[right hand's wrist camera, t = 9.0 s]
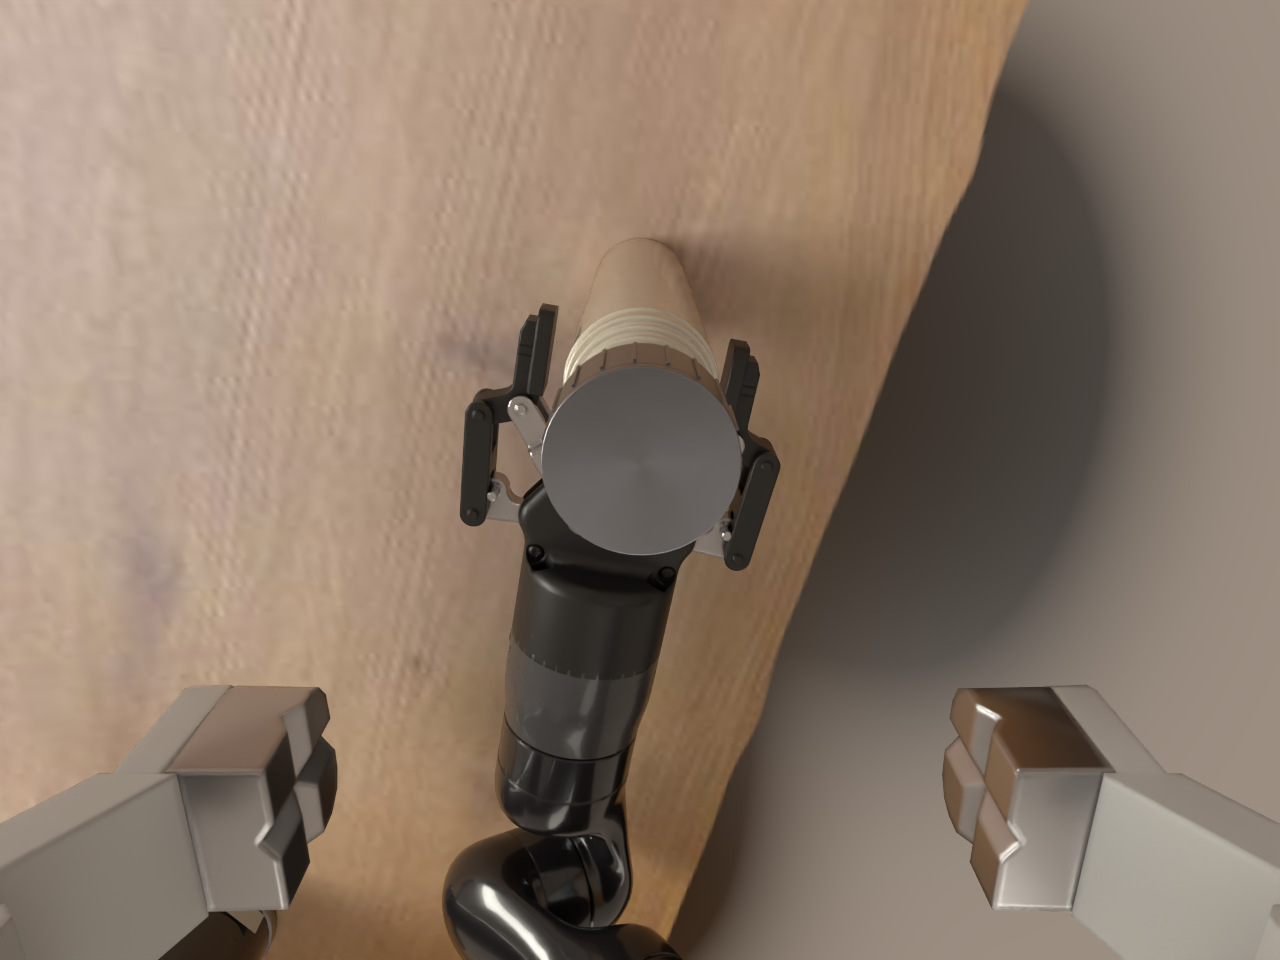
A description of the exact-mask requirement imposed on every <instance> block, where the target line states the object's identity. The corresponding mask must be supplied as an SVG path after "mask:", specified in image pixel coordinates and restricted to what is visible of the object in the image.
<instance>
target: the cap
mask: <svg viewBox="0 0 1280 960" xmlns="http://www.w3.org/2000/svg"><path fill="white" fill-rule="evenodd" d="M551 412H552V414H551V416H549V418H548V421H547V424H546V427H545V430H544V433H543V436H542V439H541V442H542V443H543V445H542V451H541V470H542V477H543V482H544V485H545V489H546V492H547V494H548V496H549V499H550V501H551V503H552V505H553V506H554V508H555V510H556V511H557V513H558V514H559V515H560V517H561V518H562V519H563V520H564V522H565V523H566V524H567V525H568V526H569V527H570V528H571V529H572V530H573V531H575V532H576V533H577V534H579V535H580V536H581V537H583V538H584V539H586V540H588V541H589V542H591V543H593V544H595V545H597V546H599V547H602V548H604V549H607V550H610V551H613V552H617V553H622V554H628V555H655V554H661V553H666V552H670V551H673V550H676V549H679V548H681V547H683V546H686V545H688V544H690V543H692V542H693V541H695V540H697V539H698V538H700V537H702V536H703V535H704V534H705V533H707V532H708V531H709V530H710V529H712V527H713V526H714V525H715V524H716V523H717V522H718V521H719V520H720V519H721V518H722V516H723V515H724V514H725V512H726V511H727V510H728V508H729V506H730V504H731V502H732V500H733V499H734V496H735V493H736V491H737V488H738V485H739V481H740V476H741V467H742V453H741V446H740V440H739V436H738V433H737V431H738V430H739V427H738V424H737V421H736V419H735V416H734V413H733V410H732V407H731V405H728V404H727V401H726V398H725V396H724V394H723V392H722V389H721V386H720V383H719V380H718V379H717V378H716V379H714V377H713V376H712V375H711V374H710V373H709V372H708V371H707V370H706V369H705V368H704V367H703V366H702V365H701V364H700V363H698V362H697V359H696V358H695V357H694V358H691V357H690V356H688V355H686V354H684V353H682V352H680V351H678V350H676V349H673V348H670V347H668V345H666V344H665V346H663V345H657V344H650V343H637V342H633V344H625V345H621V346H616V347H613V348H610V349H607V350H606V348H605V349H603V350H602V352H600V353H598V354H597V355H595V356H593V357H591V358H590V359H588V360H587V361H586V362H584V363H583V364H582V365H581V366H580V365H578V366H576V370H575V371H574V372H573V374H572V375H571V376H570V377H569V378H568V379H567V381H566V382H565V384H564V386H563V387H562V389H560V388H559V389H558V392H557V395H556V397H555V400H554V403H553V406H552V409H551Z"/></svg>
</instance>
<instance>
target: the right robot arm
mask: <svg viewBox="0 0 1280 960" xmlns="http://www.w3.org/2000/svg"><path fill="white" fill-rule="evenodd" d="M329 720H330V714H329V709H328V704H327V698H326V694H325V693H324V692H323V691H322V690H321V689H320V688H319V687H279V686H235V687H234V686H231V685H205V686H192V687H189V688H186V689H184V690H183V691H182V692H181V693H180V694H179V696H178V697H177V698H176V699H175V700H174V702H173V703H172V704H171V705H170V706H169V707H168V709H167V710H166V711H165V712H164V713H163V715H162V716H161V717H160V718H159V719H158V720H157V722H156V723H155V724H154V725H153V726H152V728H151V729H150V730H149V731H148V732H147V733H146V735H145V736H144V737H143V738H142V739H141V741H140V742H139V743H138V744H137V745H136V746H135V748H134V749H133V750H132V751H131V752H130V754H129V755H128V756H127V757H126V758H125V759H124V761H123V762H122V763H121V764H120V765H119V767H118V768H117V769H116V770H115V771H114V772H113V773H99V774H97V775H95V776H93V777H91V778H89V779H87V780H85V781H83V782H81V783H79V784H77V785H75V786H73V787H71V788H69V789H67V790H65V791H63V792H61V793H59V794H57V795H55V796H54V797H52V798H50V799H48V800H46V801H44V802H42V803H40V804H38V805H36V806H34V807H32V808H30V809H28V810H26V811H24V812H22V813H20V814H18V815H16V816H14V817H12V818H10V819H8V820H6V821H4V822H2V823H1V824H0V960H158V959H159V958H160V957H162V956H163V955H164V954H165V953H166V952H167V951H169V950H170V949H171V948H172V947H173V946H174V945H175V944H177V943H178V942H179V941H180V940H181V939H182V938H184V937H185V936H186V935H187V934H188V933H189V932H191V931H192V930H193V929H194V928H195V927H196V926H198V925H199V924H200V923H201V922H202V921H203V920H205V919H206V918H207V917H208V915H209V914H208V912H217V911H252V910H286V909H288V908H289V906H290V904H291V902H292V900H293V897H294V895H295V893H296V891H297V889H298V887H299V885H300V883H301V880H302V878H303V876H304V874H305V872H306V870H307V868H308V865H309V863H310V859H309V853H308V846H307V844H308V843H310V842H311V841H312V840H314V839H315V838H316V837H318V836H319V835H321V834H322V833H323V832H324V830H325V828H326V826H327V824H328V821H329V819H330V817H331V814H332V811H333V806H334V801H335V796H336V791H337V761H336V754H335V750H334V749H333V747H332V746H331V745H330V744H329V743H328V742H327V741H326V740H325V739H324V738H323V737H322V736H321V735H322V733H323V731H324V729H325V727H326V725H327V724H328V722H329ZM950 720H951V722H952V723H953V725H954V727H955V729H956V731H957V733H958V735H959V736H958V737H957V738H956V739H955V740H954V741H953V742H952V743H951V744H950V745H949V746H948V747H947V749H946V750H945V755H944V763H943V772H942V776H943V789H944V799H945V803H946V806H947V810H948V814H949V817H950V819H951V821H952V824H953V826H954V828H955V831H956V832H957V833H958V834H959V835H961V836H962V837H964V838H965V839H966V840H968V841H969V842H970V843H972V844H973V847H972V853H971V859H970V863H971V865H972V868H973V870H974V872H975V874H976V876H977V878H978V880H979V882H980V884H981V887H982V889H983V891H984V893H985V895H986V897H987V899H988V902H989V904H990V906H991V908H992V909H993V910H1028V911H1063V912H1072V914H1071V916H1072V917H1074V918H1075V919H1076V920H1077V921H1078V922H1079V923H1081V924H1082V925H1083V926H1084V927H1085V928H1086V929H1087V930H1089V931H1090V932H1091V933H1092V934H1093V935H1094V936H1096V937H1097V938H1098V939H1099V940H1100V941H1101V942H1103V943H1104V944H1105V945H1106V946H1107V947H1108V948H1110V949H1111V950H1112V951H1113V952H1114V953H1115V954H1117V955H1118V956H1119V957H1120V958H1121V959H1122V960H1280V824H1279V823H1277V822H1275V821H1273V820H1271V819H1269V818H1267V817H1265V816H1264V815H1262V814H1260V813H1258V812H1256V811H1254V810H1252V809H1250V808H1248V807H1246V806H1244V805H1242V804H1240V803H1238V802H1236V801H1234V800H1232V799H1230V798H1228V797H1226V796H1224V795H1222V794H1220V793H1218V792H1217V791H1215V790H1213V789H1211V788H1209V787H1207V786H1205V785H1203V784H1201V783H1199V782H1197V781H1195V780H1193V779H1191V778H1189V777H1187V776H1185V775H1183V774H1181V773H1166V771H1165V770H1164V769H1163V768H1162V767H1161V765H1160V764H1159V763H1158V762H1157V761H1156V760H1155V758H1154V757H1153V756H1152V755H1151V754H1150V752H1149V751H1148V750H1147V749H1146V748H1145V747H1144V745H1143V744H1142V743H1141V742H1140V741H1139V739H1138V738H1137V737H1136V736H1135V735H1134V734H1133V732H1132V731H1131V730H1130V729H1129V728H1128V727H1127V725H1126V724H1125V723H1124V722H1123V721H1122V719H1121V718H1120V717H1119V716H1118V715H1117V714H1116V712H1115V711H1114V710H1113V709H1112V708H1111V706H1110V705H1109V704H1108V703H1107V702H1106V701H1105V699H1104V698H1103V697H1102V696H1101V695H1100V693H1099V692H1098V691H1097V690H1096V689H1094V688H1092V687H1090V686H1088V685H1066V686H1044V687H1018V688H962V689H957V692H956V694H955V696H954V698H953V702H952V708H951V714H950Z"/></svg>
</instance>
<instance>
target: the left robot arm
mask: <svg viewBox="0 0 1280 960" xmlns="http://www.w3.org/2000/svg"><path fill="white" fill-rule="evenodd" d="M558 307H559V306H555V305H550V304H544V303H543V304H542V306H541V308H540V310H539V315H538V316H536V315H531V314H530V315H529V317H528V319H527V320H526V322H525V324H524V325H523V327H522V329H521V330H520V336H519V344H518V351H517V358H516V365H515V373H514V380H513V384H512V385H511V386H509V387H507V388H503V389H497V390H492V389H482V390H480V391H479V392H478V393H477V394H476V395H475V397H474V399H473V402H472V403H471V404H470V405H469V406H468V408H467V409H466V412H465V427H464V446H463V465H462V483H461V502H460V517H461V519H462V521H463V522H464V523H465V524H467V525H469V526H479V525H481V524H482V523H483V522H484V521H485V519H493V520H502V521H511V522H519V524H520V526H521V528H522V530H523V533H524V538H525V545H524V552H523V559H522V565H521V572H520V579H519V585H518V592H517V599H516V605H515V612H514V619H513V625H512V629H511V632H510V645H509V651H508V658H507V664H506V676H505V687H506V701H505V712H504V719H503V725H502V732H501V738H500V745H499V750H498V755H497V762H496V770H495V791H496V796H497V800H498V802H499V805H500V807H501V809H502V811H503V812H504V813H505V815H506V816H507V817H508V818H509V819H510V820H511V821H512V822H513V823H514V824H515V825H517V826H518V827H519V828H516V829H513V830H510V831H507V832H504V833H500V834H497V835H494V836H491V837H488V838H485V839H483V840H480V841H478V842H475V843H474V844H472V845H470V846H468V847H467V848H465V849H464V850H463V851H462V852H460V853H459V854H458V855H457V857H456V858H455V859H454V861H453V862H452V864H451V865H450V867H449V870H448V872H447V875H446V877H445V881H444V886H443V893H442V910H443V916H444V921H445V925H446V928H447V931H448V934H449V937H450V939H451V941H452V943H453V945H454V947H455V949H456V950H457V952H458V954H459V955H460V957H461V958H462V960H682V959H681V958H680V956H679V955H678V954H677V953H676V952H675V950H674V949H673V948H672V947H671V946H670V945H669V944H668V942H667V941H666V940H665V939H664V938H663V937H662V936H660V935H659V934H658V933H657V932H656V931H654V930H653V929H651V928H649V927H647V926H643V925H639V924H633V923H627V924H618V925H615V924H616V923H617V921H618V920H619V919H620V917H621V915H622V914H623V912H624V911H625V909H626V907H627V905H628V903H629V900H630V897H631V894H632V888H633V869H632V862H631V855H630V848H629V838H628V825H627V810H626V797H625V784H626V780H627V776H628V771H629V767H630V763H631V758H632V754H633V749H634V744H635V740H636V735H637V731H638V728H639V724H640V722H641V719H642V717H643V714H644V712H645V709H646V707H647V704H648V701H649V698H650V694H651V690H652V686H653V682H654V677H655V673H656V668H657V664H658V659H659V655H660V650H661V646H662V641H663V637H664V633H665V628H666V624H667V619H668V615H669V610H670V606H671V601H672V597H673V592H674V588H675V583H676V579H677V574H678V571H679V568H680V566H681V564H682V562H683V561H684V559H685V558H686V557H687V556H688V555H689V554H690V553H691V552H692V551H693V552H697V553H702V554H706V555H711V556H715V557H719V558H724V560H725V564H726V566H727V567H728V568H730V569H731V570H735V571H739V570H743V569H745V568H746V567H747V566H748V565H749V563H750V560H751V557H752V553H753V550H754V547H755V544H756V541H757V538H758V535H759V532H760V529H761V526H762V523H763V520H764V517H765V513H766V510H767V507H768V504H769V501H770V498H771V495H772V492H773V489H774V486H775V483H776V480H777V477H778V473H779V470H780V462H779V460H778V458H777V455H776V453H775V451H774V449H773V446H772V444H771V442H770V441H769V440H767V439H765V438H760V437H758V436H756V435H754V434H753V433H751V432H750V431H749V430H748V423H749V419H750V414H751V410H752V406H753V402H754V397H755V393H756V389H757V385H758V381H759V377H760V373H759V367H758V362H757V361H756V359H755V357H754V356H750V347H749V345H748V344H747V342H746V341H741V340H735V339H731V340H730V343H729V346H728V351H727V355H726V360H725V364H724V369H723V373H722V378H721V382H720V386H721V389H722V392H723V394H724V396H725V398H726V401H727V404H728V405H731V407H732V410H733V413H734V416H735V419H736V421H737V424H738V427H739V430H738V431H737V433H738V436H739V440H740V446H741V453H742V468H741V476H740V481H739V485H738V488H737V491H736V493H735V496H734V499H733V500H732V502H731V504H730V507H729V510H728V511H726V512H725V514H724V515H723V516H722V518H721V519H720V520H719V521H718V522H717V523H716V524H715V525H714V526H713V527H712V529H710V530H709V531H708V532H707V533H705V534H704V535H703V536H702V537H700V538H698V539H697V540H695V541H693V542H692V543H690V544H688V545H686V546H683V547H681V548H679V549H676V550H673V551H670V552H666V553H661V554H655V555H628V554H622V553H617V552H613V551H610V550H607V549H604V548H602V547H599V546H597V545H595V544H593V543H591V542H589V541H588V540H586V539H584V538H583V537H581V536H580V535H579V534H577V533H576V532H575V531H573V530H572V529H571V528H570V527H569V526H568V525H567V524H566V523H565V522H564V520H563V519H562V518H561V517H560V515H559V514H558V513H557V511H556V510H555V508H554V506H553V505H552V503H551V501H550V499H549V496H548V494H547V492H546V489H545V485H544V482H543V477H542V470H541V451H542V445H543V443H542V442H541V439H542V436H543V433H544V430H545V427H546V424H547V421H548V418H549V416H551V414H552V412H551V410H550V408H549V407H548V405H547V403H546V401H545V400H544V398H543V393H544V391H545V388H546V386H547V382H548V375H549V369H550V362H551V355H552V349H553V342H554V336H555V329H556V322H557V316H558ZM509 421H513V423H514V425H515V426H516V428H517V430H518V432H519V433H520V435H521V437H522V438H523V440H524V442H525V444H526V445H527V448H528V451H529V455H530V457H531V460H532V462H533V463H534V465H535V467H536V468H537V470H538V472H539V474H540V475H541V477H542V478H541V479H540V480H539V481H538V482H537V483H536V484H535V485H534V486H533V487H532V488H531V489H530V490H528V491H527V492H526V494H525V495H524V497H523V498H522V497H518V496H516V495H515V494H514V493H513V492H512V491H511V489H510V482H509V479H508V478H507V477H506V476H505V475H504V474H502V473H500V472H496V460H497V445H498V431H499V423H503V422H509ZM208 914H209V915H208V917H207V918H206V919H205V920H203V921H202V922H201V923H200V924H199V925H198V926H196V927H195V928H194V929H193V930H192V931H191V932H189V933H188V934H187V935H186V936H185V937H184V938H182V939H181V940H180V941H179V942H178V943H177V944H175V945H174V946H173V947H172V948H171V949H170V950H169V951H167V952H166V953H165V954H164V955H163V956H162V957H160V958H159V959H158V960H262V959H263V958H264V957H265V955H266V953H267V951H268V949H269V947H270V945H271V943H272V940H273V938H274V936H275V932H276V923H277V922H276V915H275V911H274V910H252V911H217V912H208Z"/></svg>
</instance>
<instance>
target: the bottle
mask: <svg viewBox="0 0 1280 960" xmlns="http://www.w3.org/2000/svg"><path fill="white" fill-rule="evenodd" d="M633 342H637V343H650V344H657V345H663V346H665V344H666V345H668V347H670V348H673V349H676V350H678V351H680V352H682V353H684V354H686V355H688V356H690V357H691V358H694V357H695V358H696V359H697V362H698V363H700V364H701V365H702V366H703V367H704V368H705V369H706V370H707V371H708V372H709V373H710V374H711V375H712V376H713V377H714V379H716V378H717V379H718V380H719V374H718V368H717V364H716V361H715V358H714V355H713V352H712V349H711V346H710V343H709V341H708V338H707V335H706V332H705V329H704V326H703V323H702V320H701V318H700V315H699V312H698V309H697V306H696V303H695V300H694V298H693V295H692V292H691V289H690V286H689V283H688V280H687V278H686V275H685V272H684V269H683V266H682V264H681V262H680V261H679V259H678V258H677V256H676V255H675V254H674V253H673V252H672V251H671V250H670V249H669V248H668V247H666V246H665V245H663V244H661V243H659V242H657V241H654V240H650V239H632V240H628V241H625V242H622V243H620V244H618V245H617V246H615V247H614V248H613V249H611V250H610V251H609V252H608V253H607V254H606V256H605V257H604V258H603V260H602V261H601V263H600V265H599V268H598V270H597V273H596V276H595V279H594V282H593V285H592V288H591V291H590V294H589V297H588V299H587V302H586V305H585V308H584V311H583V314H582V317H581V320H580V323H579V326H578V329H577V332H576V335H575V338H574V340H573V343H572V346H571V349H570V352H569V355H568V358H567V362H566V365H565V369H564V376H563V386H564V384H565V382H566V381H567V379H568V378H569V377H570V376H571V375H572V374H573V372H574V371H575V370H576V366H578V365H580V366H581V365H582V364H583V363H584V362H586V361H587V360H588V359H590V358H591V357H593V356H595V355H597V354H598V353H600V352H602V350H603V349H605V348H606V350H607V349H610V348H613V347H616V346H621V345H625V344H633Z"/></svg>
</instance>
